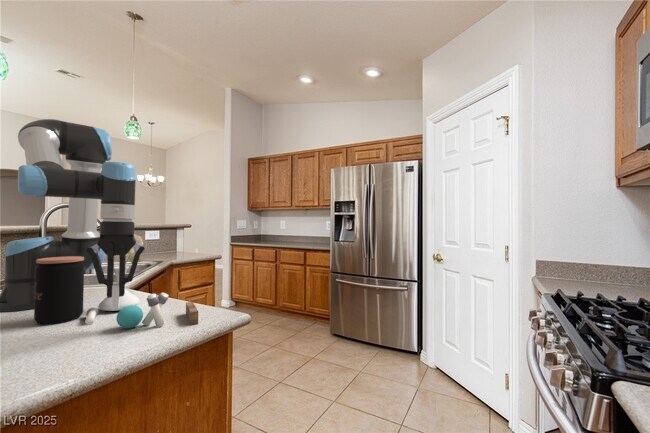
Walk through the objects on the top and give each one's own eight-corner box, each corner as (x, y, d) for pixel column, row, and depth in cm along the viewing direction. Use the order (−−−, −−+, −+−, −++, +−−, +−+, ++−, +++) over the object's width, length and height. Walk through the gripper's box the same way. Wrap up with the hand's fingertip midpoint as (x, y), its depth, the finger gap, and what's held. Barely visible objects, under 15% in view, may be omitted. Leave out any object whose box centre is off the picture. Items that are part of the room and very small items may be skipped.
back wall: (185, 313, 92) (185, 302, 92) (192, 313, 93) (192, 301, 93) (190, 325, 82) (190, 312, 82) (198, 324, 83) (198, 311, 83)
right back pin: (154, 325, 82) (146, 295, 80) (165, 321, 83) (156, 292, 81) (155, 329, 79) (146, 298, 78) (165, 325, 81) (157, 295, 79)
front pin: (140, 320, 82) (160, 291, 85) (150, 324, 83) (169, 295, 86) (140, 323, 80) (161, 293, 82) (150, 327, 81) (170, 297, 83)
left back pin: (81, 323, 82) (85, 313, 89) (91, 326, 83) (94, 317, 90) (88, 314, 82) (91, 305, 90) (97, 318, 84) (100, 309, 91)
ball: (126, 300, 83) (149, 304, 84) (120, 322, 82) (143, 325, 83) (115, 306, 77) (140, 310, 78) (108, 329, 76) (133, 333, 77)
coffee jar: (44, 316, 89) (46, 257, 90) (88, 312, 94) (89, 255, 94) (25, 327, 80) (27, 261, 80) (75, 322, 84) (76, 259, 84)
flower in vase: (88, 314, 92) (90, 234, 93) (114, 304, 103) (115, 232, 104) (131, 313, 92) (132, 234, 93) (151, 304, 104) (153, 233, 104)
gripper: (84, 220, 72) (81, 316, 72) (146, 221, 79) (143, 309, 79) (89, 220, 79) (86, 308, 78) (146, 220, 85) (144, 302, 85)
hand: (115, 309), depth 79 cm, fingers closed
